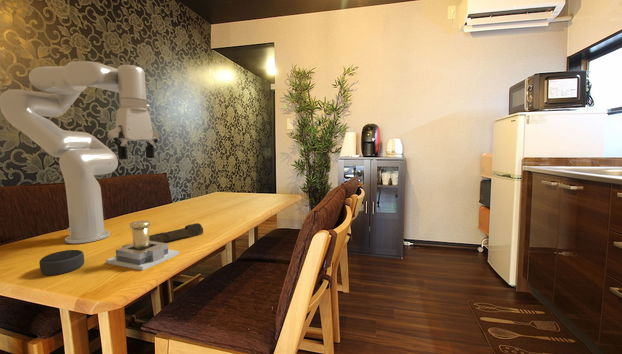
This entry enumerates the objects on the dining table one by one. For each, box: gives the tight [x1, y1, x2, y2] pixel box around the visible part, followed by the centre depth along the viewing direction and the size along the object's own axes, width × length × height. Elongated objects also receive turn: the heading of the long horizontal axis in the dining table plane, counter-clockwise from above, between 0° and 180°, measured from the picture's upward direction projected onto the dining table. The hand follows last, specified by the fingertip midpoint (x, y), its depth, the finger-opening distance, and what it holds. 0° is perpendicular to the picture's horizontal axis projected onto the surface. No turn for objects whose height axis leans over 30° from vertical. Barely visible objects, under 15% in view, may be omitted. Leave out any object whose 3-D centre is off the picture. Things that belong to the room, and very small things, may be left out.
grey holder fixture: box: [115, 241, 169, 265], centre depth 81 cm, size 14×9×3 cm, turn 69°
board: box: [105, 248, 180, 271], centre depth 82 cm, size 14×12×1 cm
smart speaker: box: [38, 249, 85, 276], centre depth 76 cm, size 9×9×4 cm
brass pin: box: [129, 219, 151, 251], centre depth 80 cm, size 5×5×10 cm
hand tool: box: [149, 223, 204, 243], centre depth 99 cm, size 19×4×5 cm, turn 134°
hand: (137, 158), depth 95 cm, fingers open, 9 cm apart
